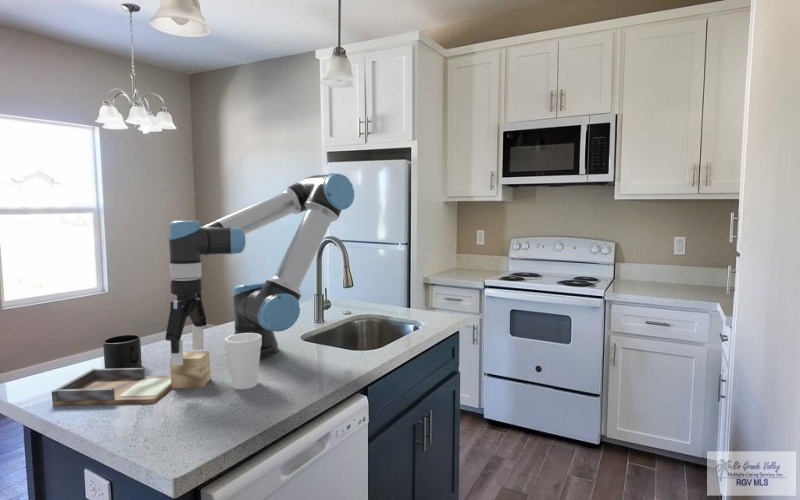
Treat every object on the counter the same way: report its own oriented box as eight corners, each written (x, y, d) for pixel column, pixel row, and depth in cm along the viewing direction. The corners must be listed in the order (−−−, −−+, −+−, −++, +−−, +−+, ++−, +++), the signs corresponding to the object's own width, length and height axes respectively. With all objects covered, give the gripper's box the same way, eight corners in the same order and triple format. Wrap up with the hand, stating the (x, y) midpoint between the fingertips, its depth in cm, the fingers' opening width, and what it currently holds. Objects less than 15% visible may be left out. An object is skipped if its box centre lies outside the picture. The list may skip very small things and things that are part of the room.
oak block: (210, 379, 128) (209, 351, 127) (202, 387, 122) (200, 358, 121) (181, 379, 127) (179, 351, 127) (171, 388, 122) (169, 358, 121)
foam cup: (228, 394, 117) (226, 344, 116) (224, 382, 125) (222, 335, 124) (266, 387, 121) (264, 339, 120) (259, 376, 130) (258, 331, 128)
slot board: (181, 378, 128) (181, 366, 128) (153, 403, 112) (153, 389, 112) (93, 380, 127) (92, 368, 127) (52, 405, 111) (51, 391, 111)
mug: (123, 377, 129) (122, 346, 129) (97, 371, 135) (95, 341, 134) (154, 367, 138) (152, 337, 137) (128, 361, 143) (127, 333, 142)
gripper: (190, 272, 134) (192, 343, 136) (148, 285, 109) (151, 372, 111) (216, 272, 135) (218, 343, 136) (180, 285, 110) (182, 372, 111)
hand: (188, 356), depth 124 cm, fingers open, 13 cm apart
